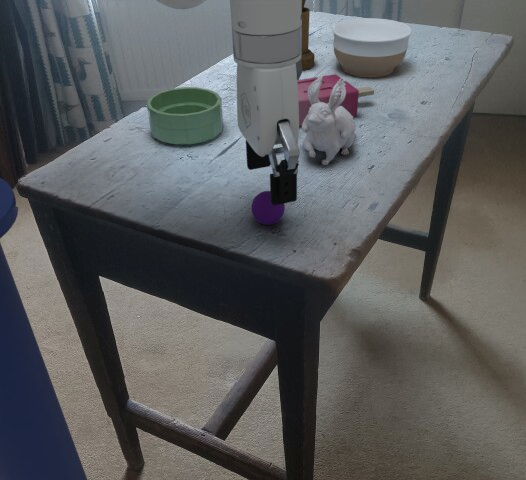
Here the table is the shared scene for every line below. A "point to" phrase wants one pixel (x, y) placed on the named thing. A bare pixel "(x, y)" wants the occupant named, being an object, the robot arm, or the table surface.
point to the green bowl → (185, 115)
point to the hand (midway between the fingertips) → (270, 183)
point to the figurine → (328, 122)
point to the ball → (266, 209)
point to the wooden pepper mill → (306, 40)
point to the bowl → (370, 45)
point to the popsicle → (325, 92)
